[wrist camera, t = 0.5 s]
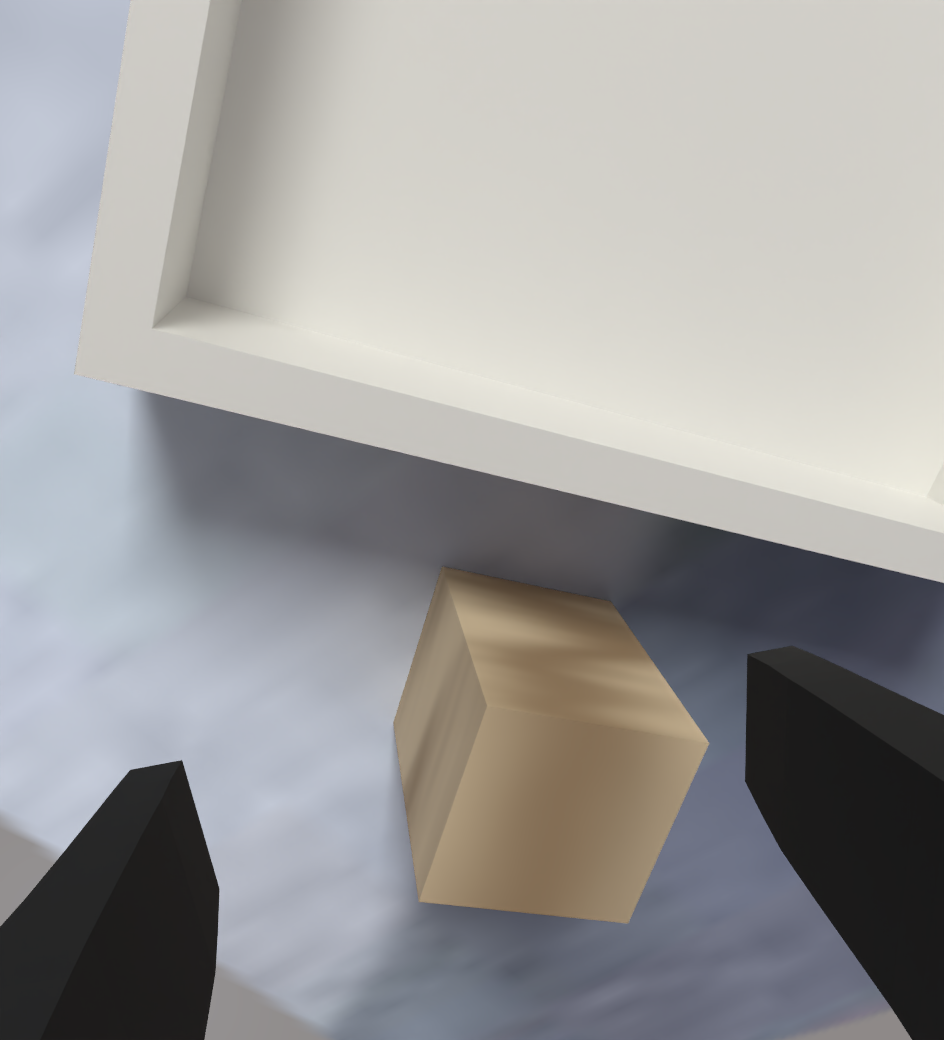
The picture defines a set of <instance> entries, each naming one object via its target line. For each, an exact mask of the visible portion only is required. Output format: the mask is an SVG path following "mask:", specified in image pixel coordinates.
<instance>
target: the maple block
mask: <svg viewBox="0 0 944 1040" xmlns="http://www.w3.org/2000/svg"><path fill="white" fill-rule="evenodd" d="M394 730H395V737H396V744H397V751H398V758H399V765H400V772H401V779H402V786H403V793H404V801H405V808H406V815H407V822H408V829H409V836H410V843H411V850H412V857H413V864H414V871H415V878H416V885H417V892H418V899H419V902H426V903H436V904H445V905H455V906H465V907H474V908H484V909H494V910H503V911H513V912H523V913H532V914H542V915H551V916H561V917H571V918H580V919H590V920H600V921H609V922H619V923H628V922H629V920H630V918H631V916H632V913H633V911H634V909H635V907H636V905H637V902H638V900H639V898H640V896H641V893H642V891H643V889H644V887H645V885H646V882H647V880H648V878H649V876H650V873H651V871H652V869H653V867H654V865H655V862H656V860H657V858H658V856H659V853H660V851H661V849H662V847H663V845H664V842H665V840H666V838H667V836H668V833H669V831H670V829H671V827H672V825H673V822H674V820H675V818H676V816H677V813H678V811H679V809H680V807H681V805H682V802H683V800H684V798H685V796H686V793H687V791H688V789H689V787H690V785H691V782H692V780H693V778H694V776H695V774H696V771H697V769H698V767H699V765H700V762H701V760H702V758H703V756H704V754H705V751H706V749H707V747H708V745H709V742H708V741H707V739H706V738H705V736H704V735H703V734H702V732H701V731H700V729H699V728H698V726H697V725H696V723H695V722H694V721H693V719H692V718H691V716H690V715H689V713H688V712H687V710H686V709H685V708H684V706H683V705H682V703H681V702H680V700H679V699H678V697H677V696H676V695H675V693H674V692H673V690H672V689H671V687H670V686H669V685H668V683H667V682H666V680H665V679H664V677H663V676H662V674H661V673H660V672H659V670H658V669H657V667H656V666H655V664H654V663H653V661H652V660H651V659H650V657H649V656H648V654H647V653H646V651H645V650H644V648H643V647H642V646H641V644H640V643H639V641H638V640H637V638H636V637H635V636H634V634H633V633H632V631H631V630H630V628H629V627H628V625H627V624H626V623H625V621H624V620H623V618H622V617H621V615H620V614H619V612H618V611H617V610H616V608H615V607H614V605H613V604H612V602H611V601H606V600H601V599H597V598H592V597H587V596H582V595H577V594H572V593H568V592H563V591H558V590H553V589H548V588H544V587H539V586H534V585H529V584H524V583H520V582H515V581H510V580H505V579H500V578H495V577H491V576H486V575H481V574H476V573H471V572H467V571H462V570H457V569H452V568H447V567H442V568H441V571H440V574H439V578H438V581H437V584H436V587H435V591H434V594H433V597H432V600H431V603H430V607H429V610H428V613H427V616H426V620H425V623H424V626H423V629H422V632H421V636H420V639H419V642H418V645H417V649H416V652H415V655H414V658H413V661H412V665H411V668H410V671H409V674H408V678H407V681H406V684H405V687H404V690H403V694H402V697H401V700H400V703H399V707H398V710H397V713H396V716H395V719H394Z"/></svg>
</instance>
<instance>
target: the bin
mask: <svg viewBox="0 0 944 1040" xmlns="http://www.w3.org/2000/svg"><path fill="white" fill-rule="evenodd" d="M74 374H76V375H80V376H84V377H88V378H92V379H97V380H101V381H105V382H109V383H113V384H117V385H122V386H126V387H130V388H134V389H138V390H142V391H147V392H151V393H155V394H159V395H163V396H167V397H172V398H176V399H180V400H184V401H188V402H192V403H197V404H201V405H205V406H209V407H213V408H217V409H222V410H226V411H230V412H234V413H238V414H242V415H247V416H251V417H255V418H259V419H263V420H267V421H272V422H276V423H280V424H284V425H288V426H292V427H297V428H301V429H305V430H309V431H313V432H317V433H322V434H326V435H330V436H334V437H338V438H342V439H347V440H351V441H355V442H359V443H363V444H367V445H372V446H376V447H380V448H384V449H388V450H392V451H397V452H401V453H405V454H409V455H413V456H417V457H422V458H426V459H430V460H434V461H438V462H442V463H446V464H451V465H455V466H459V467H463V468H467V469H471V470H476V471H480V472H484V473H488V474H492V475H496V476H501V477H505V478H509V479H513V480H517V481H521V482H526V483H530V484H534V485H538V486H542V487H546V488H551V489H555V490H559V491H563V492H567V493H571V494H576V495H580V496H584V497H588V498H592V499H596V500H601V501H605V502H609V503H613V504H617V505H621V506H626V507H630V508H634V509H638V510H642V511H646V512H651V513H655V514H659V515H663V516H667V517H671V518H676V519H680V520H684V521H688V522H692V523H696V524H701V525H705V526H709V527H713V528H717V529H721V530H726V531H730V532H734V533H738V534H742V535H746V536H751V537H755V538H759V539H763V540H767V541H771V542H776V543H780V544H784V545H788V546H792V547H796V548H801V549H805V550H809V551H813V552H817V553H821V554H825V555H830V556H834V557H838V558H842V559H846V560H850V561H855V562H859V563H863V564H867V565H871V566H875V567H880V568H884V569H888V570H892V571H896V572H900V573H905V574H909V575H913V576H917V577H921V578H925V579H930V580H934V581H938V582H942V583H944V0H131V2H130V8H129V15H128V22H127V28H126V35H125V41H124V48H123V55H122V61H121V68H120V74H119V81H118V88H117V94H116V101H115V107H114V114H113V121H112V127H111V134H110V140H109V147H108V154H107V160H106V167H105V173H104V180H103V187H102V193H101V200H100V206H99V213H98V220H97V226H96V233H95V239H94V246H93V253H92V259H91V266H90V273H89V279H88V286H87V292H86V299H85V306H84V312H83V319H82V325H81V332H80V339H79V345H78V352H77V358H76V365H75V372H74Z"/></svg>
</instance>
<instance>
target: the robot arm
mask: <svg viewBox="0 0 944 1040" xmlns="http://www.w3.org/2000/svg"><path fill="white" fill-rule="evenodd" d="M745 782H746V784H747V786H748V788H749V790H750V792H751V794H752V796H753V798H754V800H755V802H756V804H757V806H758V808H759V810H760V812H761V814H762V816H763V818H764V819H765V821H766V823H767V825H768V827H769V829H770V830H771V832H772V834H773V836H774V838H775V840H776V842H777V843H778V845H779V847H780V849H781V851H782V852H783V854H784V855H785V856H786V858H787V859H788V861H789V862H790V864H791V865H792V867H793V868H794V870H795V871H796V873H797V874H798V876H799V877H800V878H801V880H802V881H803V883H804V884H805V886H806V887H807V888H808V890H809V891H810V893H811V894H812V896H813V897H814V899H815V900H816V901H817V903H818V904H819V906H820V907H821V909H822V910H823V911H824V913H825V914H826V916H827V917H828V918H829V920H830V921H831V923H832V924H833V926H834V927H835V928H836V930H837V931H838V933H839V934H840V935H841V937H842V938H843V940H844V941H845V943H846V944H847V945H848V947H849V948H850V950H851V951H852V952H853V954H854V955H855V957H856V958H857V960H858V961H859V962H860V964H861V965H862V967H863V968H864V969H865V971H866V972H867V974H868V975H869V977H870V978H871V979H872V981H873V982H874V984H875V985H876V986H877V988H878V989H879V991H880V992H881V994H882V995H883V996H884V998H885V999H886V1001H887V1002H888V1003H889V1005H890V1006H891V1008H892V1009H893V1011H894V1012H895V1014H896V1015H897V1017H898V1018H899V1020H900V1022H901V1023H902V1025H903V1026H904V1028H905V1029H906V1031H907V1032H908V1034H909V1035H910V1037H911V1039H912V1040H944V715H942V714H940V713H938V712H936V711H934V710H931V709H929V708H927V707H925V706H923V705H921V704H918V703H916V702H914V701H912V700H910V699H908V698H906V697H903V696H901V695H899V694H897V693H895V692H893V691H891V690H889V689H886V688H884V687H882V686H880V685H878V684H876V683H874V682H872V681H870V680H868V679H865V678H863V677H861V676H859V675H857V674H855V673H853V672H851V671H849V670H846V669H844V668H842V667H840V666H838V665H836V664H834V663H831V662H829V661H827V660H825V659H823V658H820V657H818V656H816V655H813V654H811V653H809V652H806V651H804V650H801V649H799V648H796V647H794V646H789V647H783V648H778V649H773V650H767V651H762V652H757V653H751V654H748V659H747V713H746V766H745ZM218 911H219V886H218V883H217V879H216V876H215V872H214V869H213V865H212V862H211V859H210V855H209V852H208V848H207V845H206V841H205V838H204V834H203V831H202V828H201V824H200V821H199V817H198V814H197V810H196V807H195V803H194V800H193V797H192V793H191V790H190V786H189V783H188V779H187V776H186V772H185V769H184V766H183V762H182V760H181V761H176V762H170V763H165V764H160V765H154V766H149V767H144V768H138V769H133V770H130V771H129V772H128V773H127V775H126V776H125V777H124V778H123V779H122V780H121V782H120V783H119V784H118V785H117V787H116V788H115V789H114V790H113V792H112V793H111V794H110V795H109V797H108V798H107V799H106V800H105V802H104V803H103V804H102V805H101V807H100V808H99V809H98V810H97V812H96V813H95V814H94V815H93V817H92V818H91V819H90V820H89V822H88V823H87V824H86V825H85V827H84V828H83V829H82V830H81V832H80V833H79V834H78V835H77V837H76V838H75V839H74V840H73V842H72V843H71V844H70V845H69V846H68V848H67V849H66V850H65V851H64V853H63V854H62V855H61V856H60V858H59V859H58V860H57V861H56V862H55V864H54V865H53V866H52V867H51V868H50V870H49V871H48V872H47V873H46V875H45V876H44V877H43V878H42V879H41V881H40V882H39V883H38V884H37V885H36V887H35V888H34V889H33V890H32V891H31V893H30V894H29V895H28V896H27V897H26V899H25V900H24V901H23V902H22V903H21V904H20V905H19V907H18V908H17V909H16V910H15V911H14V912H13V913H12V914H11V916H10V917H9V918H8V919H7V920H6V921H5V922H4V923H3V925H2V926H0V1040H204V1038H205V1032H206V1026H207V1020H208V1014H209V1008H210V1002H211V996H212V990H213V984H214V977H215V970H216V953H217V936H218Z"/></svg>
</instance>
